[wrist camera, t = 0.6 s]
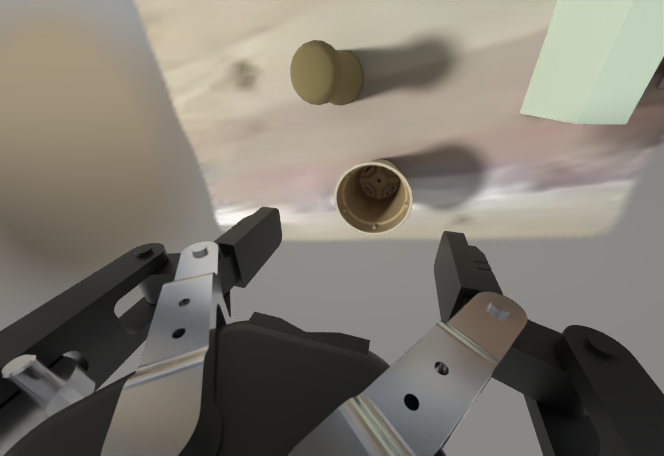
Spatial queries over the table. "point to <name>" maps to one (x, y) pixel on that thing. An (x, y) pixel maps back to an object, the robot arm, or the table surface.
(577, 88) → the door panel
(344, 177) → the flower pot
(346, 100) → the cork
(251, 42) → the table surface
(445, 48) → the table surface
